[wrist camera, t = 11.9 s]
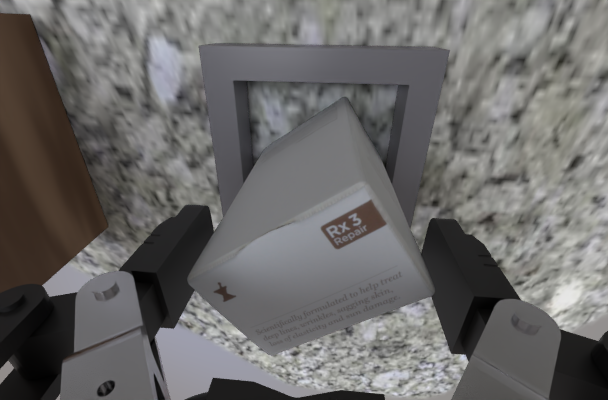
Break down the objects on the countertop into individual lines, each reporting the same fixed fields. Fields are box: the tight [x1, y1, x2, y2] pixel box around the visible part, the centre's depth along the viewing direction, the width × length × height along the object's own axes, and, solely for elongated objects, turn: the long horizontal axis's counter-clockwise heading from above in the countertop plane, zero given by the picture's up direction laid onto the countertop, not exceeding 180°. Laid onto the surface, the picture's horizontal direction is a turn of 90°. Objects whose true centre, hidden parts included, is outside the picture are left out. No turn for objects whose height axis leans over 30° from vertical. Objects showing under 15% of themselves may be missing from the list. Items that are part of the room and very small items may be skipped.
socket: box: [199, 43, 450, 228], centre depth 18 cm, size 12×12×2 cm
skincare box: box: [187, 97, 435, 356], centre depth 14 cm, size 6×4×12 cm
